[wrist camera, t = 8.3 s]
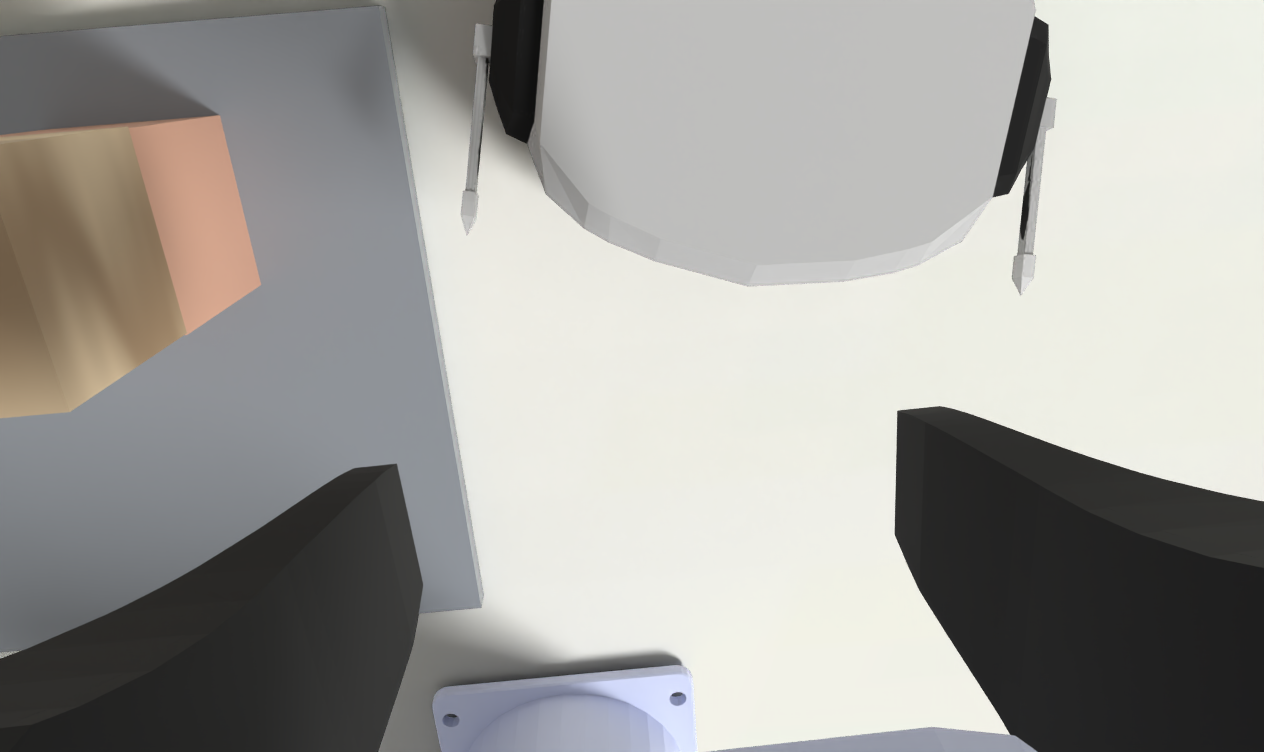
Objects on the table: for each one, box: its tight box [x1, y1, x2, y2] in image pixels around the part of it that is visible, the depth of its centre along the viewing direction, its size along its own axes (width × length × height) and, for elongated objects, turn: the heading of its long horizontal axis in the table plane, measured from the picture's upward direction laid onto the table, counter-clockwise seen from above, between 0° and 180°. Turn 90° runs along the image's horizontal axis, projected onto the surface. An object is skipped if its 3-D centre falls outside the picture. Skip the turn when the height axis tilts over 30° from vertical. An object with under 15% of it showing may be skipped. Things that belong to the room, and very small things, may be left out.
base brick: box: [0, 115, 261, 335], centre depth 18 cm, size 4×4×4 cm
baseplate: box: [0, 6, 484, 652], centre depth 21 cm, size 16×18×1 cm
